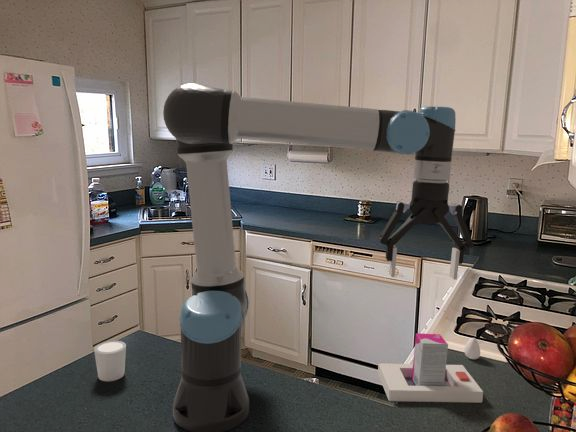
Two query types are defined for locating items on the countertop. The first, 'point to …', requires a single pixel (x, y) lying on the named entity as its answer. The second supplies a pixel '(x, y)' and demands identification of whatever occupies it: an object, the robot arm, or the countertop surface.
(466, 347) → the egg
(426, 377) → the supplement box
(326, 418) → the countertop surface
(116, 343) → the white candle
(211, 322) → the robot arm
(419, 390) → the socket plate
